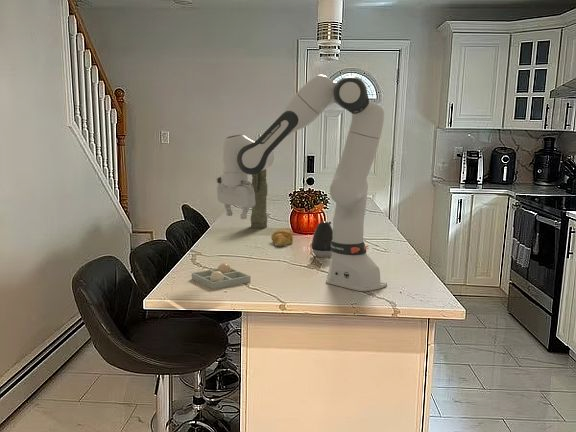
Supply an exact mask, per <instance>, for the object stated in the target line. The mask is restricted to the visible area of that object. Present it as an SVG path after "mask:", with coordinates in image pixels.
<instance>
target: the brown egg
mask: <svg viewBox="0 0 576 432" xmlns="http://www.w3.org/2000/svg"><path fill="white" fill-rule="evenodd" d="M231 268H232V267H231V266H230V265H229V264H228V263H224V262H223V263H221V264H219V265H218V266H217V269H218V271H220V272H221V273H223V274H224V273H230V272H231Z"/></svg>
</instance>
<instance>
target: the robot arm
mask: <svg viewBox="0 0 576 432" xmlns="http://www.w3.org/2000/svg"><path fill="white" fill-rule="evenodd" d="M332 104H337V105H339V107H340V108H343V109H345V110H346V111H348V112H349V113H351V121H350V126H349V129H348V133H347V136H346V140H345V144H344V148H343V150H342V154H341V157H340V159H339V161H338V164H337V167H336V170H335V172H334V174H333V178H332V181H331V184H330V187H329V195H330V197H331V199H332V201H334V203H335V207H334V208H335V209H334V214H333V217H332V230H333V239H332V241H331V251H332V255H331V256H330V259H329V264H328V265H329V266H328V273H327V275H326V281H325V283H327V284H328V285H329V284H330V285H333V286H338V287H342V288H345V289H350V290H352V291H357V292H368V291H369V292H370V291H375V290H380V289H382V288H384V287H387V285H388V282H387V281H385V280H383V279H381V271H380V268H379V266H378V265H377V263H376V262H374V260H373V259H372V257H370V256H369V255H368V253H367V250H369V247H370V245H366V244H365V241H364V228H365V227H364V225H365V215H366V207H367V200H368V186H369V183H368V180H367V178H368V175H369V173H370V170H371V168H372V165H373V163H374V161H375V156H376V153H377V149H378V147H379V142H380V140H381V135H382V133H383V132H382V130H383V126H384V119H385V111H384V109H383V108H382V106H381V105H379V104H378V103H376V102H374V101H373V102H372V101H370V100H369V95H368V88H367V86H366V84H365V82H364V81H363V80H362V79H361V78H359V77H357V76H353V75H352V76H351V75H349V76H348V75H347V76H344V77H342V78H340V79H339V80H338V81H333V80H332V78H330V77H329V76H326V75H324V74H317V75H315V76H313V78H311V79H310V80H309V81H307V82H306V83H305V84H303V86H302V87H301V88H300V89H299V90H298V91H297V92H296V93H295V94H294V95H293V96H292V98H291V99H290V100H289V101H288V103H287V104H286V105H285V107H284V109H283V110H282V112H281V113H280V114H279V115H278V117H277V119H275V121H274V122H273V123H272V124H270V126H269V128H267V129H266V130H265V131H264V133H262V135H261V136H259V138H257V139H256V140H255V141H254V140H252V139H250V138H248V136H246V135H245V134H236V135H235V134H234V135H230V136H227V137H226V138H224V140H223V145H222V161H223V170H222V171H223V174H222V175H219V176H217V178H216V182H215V183H216V184H217V186H216V194H217V201H218V203H220V204H224V205H223V206H224V209H225V211H226V216H228V217H231V216H233V210H232V208H231V206H235V207H236V206H237V207H241V213H240V219H242V220H247V216H248V215H247V214H248V212H249V210H250V208H251V209H252V207H254V206H255V193H254V189H253V186H252V184H251V183H252V182H250V181H249V180H248V178H249V177H248V176H249V175H251V176H252V175H254V174H257V173H259V172H260V171H263V170H265V169H266V170H267V169H268V168H269V167H271V166H272V164H273V162H274V153H273V151H274V150H275V149H276V148H277V147H278V146H279V145H280V144H281V143H282V142H283V141H284V140H285V139H286V138H287V137H288V136H290V135H291V134H293V133H295V132H298V131H299V130H302V129H304V128H307V126H309V125H311V123H313V122H314V121H315V120H316V119H318V118H319V116H320V115H321V114H322V113H323V112H324V111H325V110H326V109H327V108H328V107H329V106H331V105H332Z"/></svg>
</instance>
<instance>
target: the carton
mask: <svg viewBox="0 0 576 432" xmlns="http://www.w3.org/2000/svg"><path fill="white" fill-rule="evenodd" d="M230 268H231V272H230V273H224V274H223V275H224V281H218V282H212V281H210V275H211V274H212V273H213V272H214V271H218V268H212V269H207V270H202V271H196V272H191V280H193V281H194V282H197V283H198V284H200V285H202V286H205V287H207V288H209V289H211V290H216V289H217V290H218V289H222V288H228V287H233V286H239V285H242V284H248V283H251V275H249V274H247V273H244V272H242V271H240V270H237V269H234V268H232V267H230Z"/></svg>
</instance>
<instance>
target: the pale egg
mask: <svg viewBox="0 0 576 432" xmlns="http://www.w3.org/2000/svg"><path fill="white" fill-rule="evenodd" d="M210 281H212V282H218V281H224V275H223V273H221V272H220V271H214V272H213V273H212V274H211V275H210Z"/></svg>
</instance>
